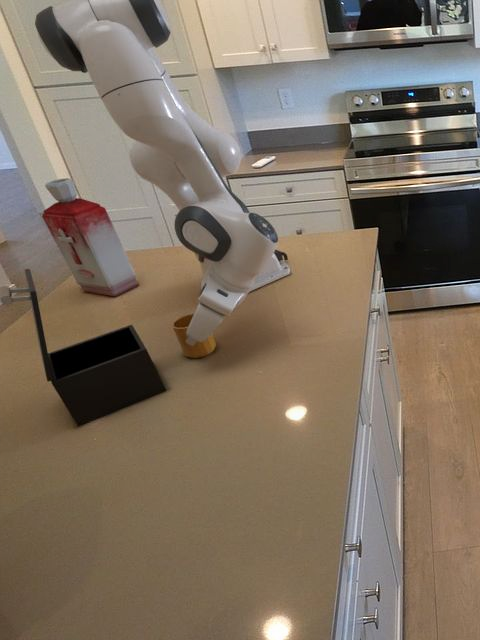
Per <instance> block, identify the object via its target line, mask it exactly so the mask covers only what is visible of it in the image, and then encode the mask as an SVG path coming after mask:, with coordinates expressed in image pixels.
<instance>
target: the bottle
mask: <svg viewBox="0 0 480 640" xmlns="http://www.w3.org/2000/svg"><path fill="white" fill-rule="evenodd" d="M44 187H45V188H46V189H47V191H48V192H49V193H50V195H51V196H52V197H53V199H54V200H55V201H57V202H55V203H53V204H52V205H50V206H49V207H47V208H46V209H44V210H43V214H42V215H41V217H42V219H43V222H44V223H45V225H46V227H47V229H48V231H49V232H50V235H51V236H52V238H53V240H54V243H55V244H56V245H57V248H58V249H59V251H60V254H61V255H62V257H63V259H64V261H65V262H66V265H67V267H68V268H69V270H70V272H71V274H72V276H73V278H74V280H75V282H76V283H77V284H78V285H79V286H80V291H82V292H83V291H84V292H88V293H94V294H99V295H106V296H109V297H110V296H111V297H117V296H119V295H122V294H124V293H126V292H127V291H129V290H131V289H134V288H135V287H137V286H138V284H139V283H140V281H139V280H138V279H137V274H136V272H135V270H134V267H133V265H132V264H131V261H130V259H129V257H128V255H127V252H126V250H125V248H124V246H123V244H122V242H121V239H120V238H119V235H118V233H117V231H116V229H115V227H114V224H113V222H112V220H111V218H110V216H109V214H108V212H107V209H106V207H103V206H102V205H100V203H97V202H94V201H90V200H87V199H84V198H81V197H77V196H78V193H77V189H76V185H75V181H74V180H73V179H71V178H69V177H67V178H65V177H64V178H59V179H58V178H57V179H55V180H50V181H48V182H46V183H45V185H44Z"/></svg>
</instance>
